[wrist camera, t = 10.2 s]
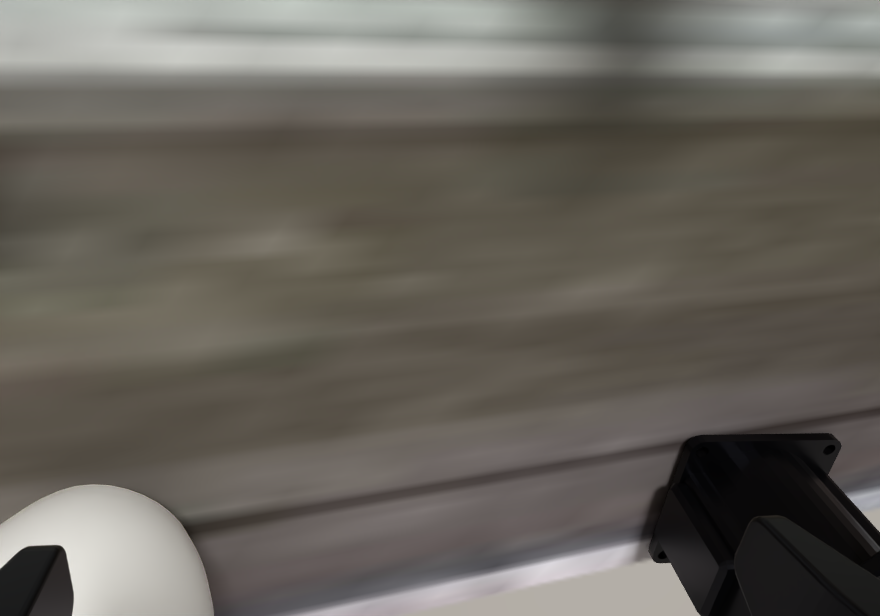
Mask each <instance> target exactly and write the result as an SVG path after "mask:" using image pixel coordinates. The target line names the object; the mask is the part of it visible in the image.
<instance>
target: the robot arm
mask: <svg viewBox="0 0 880 616" xmlns="http://www.w3.org/2000/svg"><path fill="white" fill-rule="evenodd" d="M700 448H701V449H700ZM698 449H699V450H698ZM840 449H841V443H840V442H839V441H838V440H837V439H836V438H835V437H834V436H833V435H832V434H829V433H814V434H743V435H699V436H695V437H693V438H691V439H690V440H689V441H688V442H687V444H686V445H685V448H684V451H683V454H682V457H681V459H680V462H679V465H678V468H677V470H676V473H675V476H674V479H673V482H672V484H671V487H670V489H669V492H668V495H667V497H666V500H665V503H664V506H663V509H662V511H661V514H660V517H659V520H658V523H657V525H656V528H655V531H654V535H653V537H652V540H651V543H650V546H649V550H648V551H649V553H650V555H651V557H652V559H653V561H654V562H656V563H671V565H672V566H673V568H674V570H675V572H676V574H677V575H678V577H679V579H680V581H681V583H682V585H683V586H684V588H685V590H686V592H687V594H688V596H689V597H690V599H691V601H692V603H693V605H694V606H695V608H696V610H697V612H698V613H699V614H700V615H701V616H880V532H879V531H878V530H877V529H876V528H875V527H874V526H873V524H872V523H871V522H870V521H869V520H868V519H867V518H866V517H865V516H864V514H863V513H862V512H861V511H860V510H859V509H858V508H857V507H856V506H855V505H854V503H853V502H852V501H851V500H850V499H849V498H848V497H847V496H846V495H845V494H844V492H843V491H842V490H841V489H840V488H839V487H838V486H837V485H836V484H835V483H834V481H833V480H832V479H831V478H830V477H829V476H828V474H829V472H830V470H831V467H832V465H833V463H834V461H835V459H836V457H837V455H838V453H839V451H840ZM73 605H74V591H73V586H72V581H71V575H70V570H69V565H68V560H67V555H66V551H65V549H64V548H63V547H62V546H60V545H39V546H27V547H25V548H23V549H21V550H20V551H19V552H17V553H16V554H15V555H14V556H13V557H12V558H11V559H10V560H9V561H8V562H7V563H6V564H5V565H4V566H3V567H2V568H0V616H72V612H73Z"/></svg>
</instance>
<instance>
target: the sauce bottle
mask: <svg viewBox="0 0 880 616" xmlns="http://www.w3.org/2000/svg"><path fill="white" fill-rule="evenodd" d="M39 545H60V546H62V547H63V548H64V549H65V551H66V555H67V560H68V565H69V570H70V575H71V581H72V586H73V591H74V605H73V612H72V616H214V609H213V603H212V597H211V592H210V588H209V584H208V580H207V576H206V572H205V569H204V566H203V563H202V560H201V558H200V556H199V553H198V551H197V549H196V547H195V546H194V544H193V542H192V540H191V539H190V537H189V535H188V534H187V532H186V530H185V529H184V527H183V525H182V524H181V523H180V521H179V520H178V519H177V518H176V517H175V516H174V515H173V514H172V513H171V512H170V511H169V510H167V509H166V508H165V507H163V506H162V505H161V504H159V503H158V502H156V501H154V500H152V499H150V498H148V497H147V496H145V495H142V494H140V493H137V492H134V491H132V490H129V489H125V488H121V487H116V486H112V485H99V484H89V485H80V486H73V487H70V488H66V489H63V490H59V491H56V492H54V493H52V494H50V495H48V496H45V497H43V498H41V499H39V500H37V501H36V502H34V503H32V504H30V505H29V506H27V507H26V508H24V509H22V510H21V511H19V512H18V513H17V514H15V515H14V516H12V517H11V518H9V519H8V520H6V521H5V522H3V523H2V524H1V525H0V568H2V567H3V566H4V565H5V564H6V563H7V562H8V561H9V560H10V559H11V558H12V557H13V556H14V555H15V554H16V553H17V552H19V551H20V550H21V549H23V548H25V547H27V546H39Z"/></svg>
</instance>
